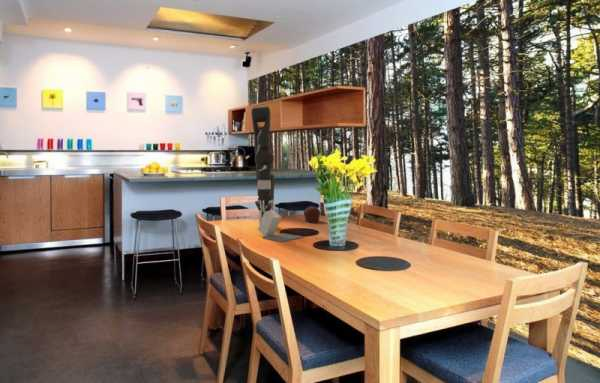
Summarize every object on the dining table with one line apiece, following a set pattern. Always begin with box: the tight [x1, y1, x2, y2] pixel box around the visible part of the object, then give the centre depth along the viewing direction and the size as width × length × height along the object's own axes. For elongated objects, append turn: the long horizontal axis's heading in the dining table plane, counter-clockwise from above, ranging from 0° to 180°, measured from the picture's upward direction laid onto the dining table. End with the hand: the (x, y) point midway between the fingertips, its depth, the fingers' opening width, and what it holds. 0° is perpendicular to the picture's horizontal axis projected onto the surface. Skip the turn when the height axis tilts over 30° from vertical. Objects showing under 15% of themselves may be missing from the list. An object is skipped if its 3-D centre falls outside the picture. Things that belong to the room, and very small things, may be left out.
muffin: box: [303, 206, 321, 224], centre depth 326 cm, size 12×11×10 cm
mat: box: [262, 232, 304, 243], centre depth 269 cm, size 17×15×1 cm
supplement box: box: [257, 210, 282, 237], centre depth 273 cm, size 7×7×13 cm
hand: (264, 218), depth 275 cm, fingers closed
